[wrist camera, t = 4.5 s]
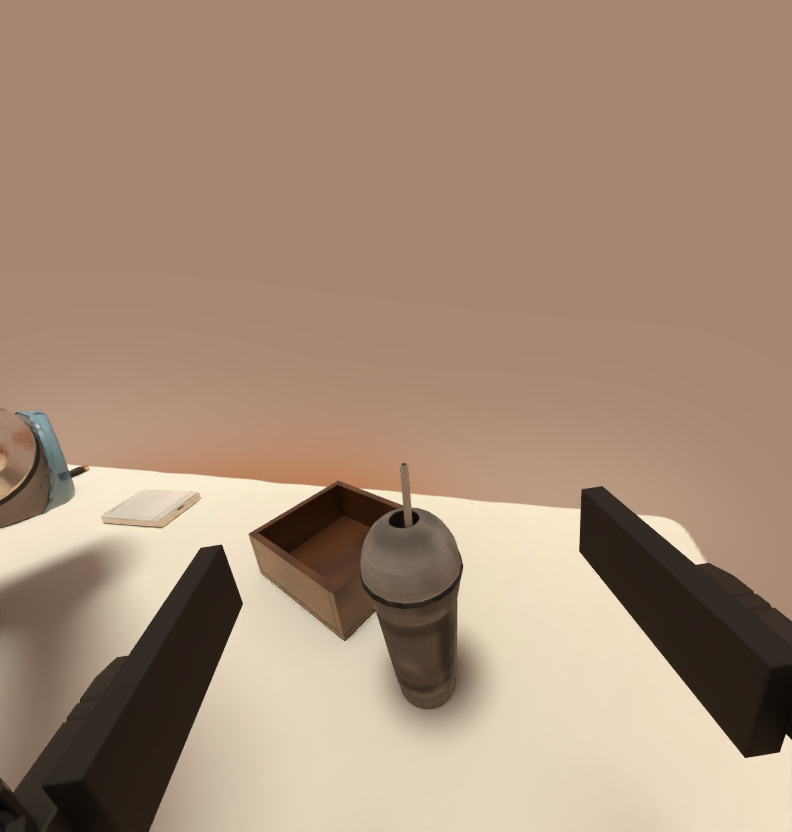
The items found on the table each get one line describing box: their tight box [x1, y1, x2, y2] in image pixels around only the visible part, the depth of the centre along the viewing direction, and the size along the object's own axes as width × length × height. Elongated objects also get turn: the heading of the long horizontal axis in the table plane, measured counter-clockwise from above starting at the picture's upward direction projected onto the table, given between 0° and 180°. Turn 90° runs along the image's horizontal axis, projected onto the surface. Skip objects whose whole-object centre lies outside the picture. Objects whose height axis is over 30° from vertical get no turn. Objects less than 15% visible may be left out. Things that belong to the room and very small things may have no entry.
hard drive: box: [101, 490, 201, 527], centre depth 61 cm, size 2×8×12 cm
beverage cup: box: [360, 462, 463, 709], centre depth 26 cm, size 7×7×20 cm
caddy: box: [249, 481, 404, 640], centre depth 42 cm, size 16×14×6 cm
